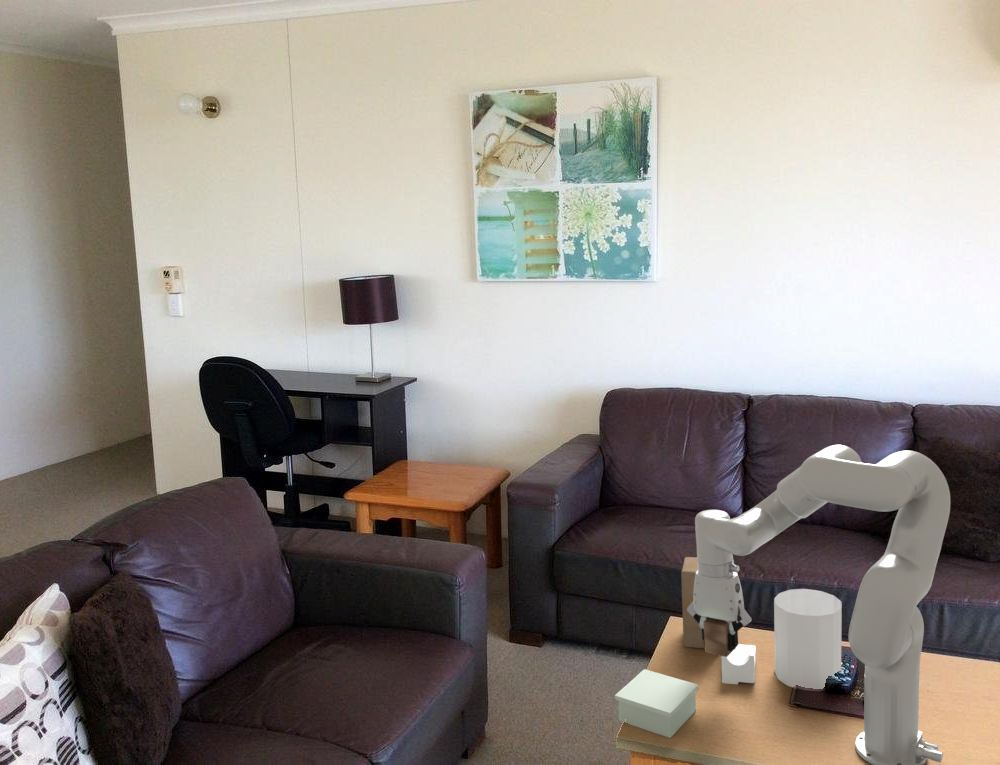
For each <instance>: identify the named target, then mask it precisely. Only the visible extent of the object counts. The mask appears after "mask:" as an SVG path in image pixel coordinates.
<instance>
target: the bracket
mask: <svg viewBox="0 0 1000 765" xmlns="http://www.w3.org/2000/svg"><path fill="white" fill-rule="evenodd" d="M756 648H757V646H756V645H752V644H743V643H742V644H741V643H740V644H739V643H738V646H737V647H736V648H735V649H734V650H733V651H732V652H731V653H730V654H729V655H728V656H727V657H725V656H720V658H721V683H722V684H729V685H739V683H747V684H755V680H756V679H755V675H756V674H755V673H756V659H757V658H756V656H757V649H756Z"/></svg>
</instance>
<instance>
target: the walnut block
mask: <svg viewBox="0 0 1000 765" xmlns="http://www.w3.org/2000/svg"><path fill="white" fill-rule="evenodd" d="M703 624H704V640H705V648H704V651H705V653H706V654H711V655H712V654H713V655H717V656H719V657H721V656H725V657H727V656H728V655H729V654H730V653H731V651H729V650H728V634H729V629H728V626H727V623H726V621H724V620H719V619H714V618H709V617H708V618H707V619H706V620H705V621H704V622H703Z"/></svg>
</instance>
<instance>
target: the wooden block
mask: <svg viewBox="0 0 1000 765" xmlns="http://www.w3.org/2000/svg"><path fill="white" fill-rule="evenodd" d="M697 570H698V561H697V556H696V557H695V556H694V557H693V556H686V557H684V560H683V565H682V568H681V572H680V573H681V600H682V601H681V603H682V604H681V605H682V606H681V607H682V638H683V639H682V640H683V646H684V647H685V648H695V649H696V648H697V649H705V646H704V640H703V639H702V628H700V627H699V623H698V622H697V621H696V620H695V619H694V617H693V616H692V615H691V614H690V613H689V612H688V611H687V608H688V606H689V605H690V604H691V603H692V602H693V600H694V598H693V597H694V581H695V574H696V571H697Z"/></svg>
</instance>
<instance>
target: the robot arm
mask: <svg viewBox="0 0 1000 765" xmlns="http://www.w3.org/2000/svg"><path fill="white" fill-rule="evenodd" d="M827 503H831V504H833V505H834V504H835V505H840V506H845V507H852V508H857V509H862V510H863V509H864V510H868V511H869V510H870V511H873V512H874V511H875V512H881V513H882V512H893V511H897V510H898V511H897V513H896V516H895V519H894V521H893V524H892V526H891V527H892V528H891V532H890V537H889V540H888V543H887V546H886V549H885V552H884V554H883V555H882V556H881V557H880V558H879V560H877V561H876V562H875V563H874V564H873V565H872V566H871V567H870V568H869V569H868V570H867V572H865V574H864V575H863V578H862V581H861V582H860V584H859V585H860V586H859V588H858V593H857V597H856V600H855V605H854V608H853V611H852V615H851V620H850V623H849V627H848V634H847V635H848V636H847V637H848V643H849V648H850V649H851V651H852V653H853V655H854V656H855V658H857V660H858V661H860V662H861V663H862V664H864V688H863V689H864V693H863V694H864V696H863V697H864V700H863V702H864V705H863V706H864V707H863V708H864V709H863V710H864V712H863V717H864V718H863V731H862V732H861V733H859V735H858V736H857V737H856V738H855V750H856V752H857V754H858V755H859V756H860V758H862V759H863V760H864V761H866V762H867V763H869V764H871V765H925V764H926V762H927V760H930V761H934V762H936V763H939V764H940V763H941V764H942V762H943V755H944V754H943V752H942V751H940V750H939V745H938V744H935V743H931V742H927V741H926V740H925V739H923V732H922V731H920V730H919V709H920V708H919V707H920V705H919V704H920V702H919V701H920V700H919V699H920V697H919V696H920V675H921V674H920V673H921V672H920V671H921V658H922V657H921V656H922V648H923V641H924V633H925V626H924V618H923V616H922V613H921V611H920V609H919V608H918V606H917V605H918V604H919V603H920V602H921V601H922V600H923V599H924V598H925V597H926V595H927V594H928V592H929V591H930V589H931V587H932V585H933V581H934V577H935V572H936V568H937V564H938V561H939V560H938V559H939V557H940V553H941V550H942V546H943V541H944V537H945V533H946V529H947V527H948V526H947V525H948V521H949V518H950V513H951V492H950V487H949V484H948V481H947V478H946V476H945V475H944V473H943V472H942V470H941V469H940V467H939V466H938V465H937V464H936V463H935V462H934V461H933V460H932V459H931V458H929V457H928V456H926V455H924V454H922V452H921V453H920V452H918V451H914V450H909V449H908V450H901V451H897V452H893V453H891V454H889V455H887V456H885V457H884V458H883V459H881V460H880V461H878V462H877V463H875V464H873V463H864V462H862V459H861V457H860V455H859V453H857V452H856V451H855V450H854V449H853V448H851V447H849V446H847V445H842V444H833V445H829V446H826V447H824V448H822V449H821V450H819V451H818V452H817V451H816V453H814V454H812V455H811V456H810V455H809V457H808V458H806V459H805V460H804V461H803V463H801V465H800V466H799V467H798V468H797V469H795V470H793V471H792V472H790V474H788V475H786V477H784V478H782V479H781V480H780V481H779V482H778V483H777V485H776V490H775V491H774V492H772V493H770V495H768V496H767V497H766V498H764V499H763V500H762V501H760V502H759V503H758V504H756V505H754V507H752V508H750V509H749V510H747V511H744V512H743V513H742V514H740V515H738V516H737V517H733V518H731V517H730V515H729V513H728V512H726V511H724V510H720V509H706V510H702V511H700V512H698V513H697V514H696V515H695V518H694V526H695V541H696V542H695V544H696V557H697V561H698V570H697V571H696V574H695V581H694V597H693V598H694V600H693V602H692V603H691V604H690V605H689V606H688V608H687V611H688V612H689V613H690V614H691V615H692V616H693V617H694V619H695V620H696V621H697V622H698V623H699V627H700V628H702V639H703V640H704V624H703V622H704V621H705V620H706V619H707V618H708V617H709V618H714V619H719V620H724V621H726V623H727V626H728V629H729V634H728V650H729V651H731V652H732V651H733V650H734V649H735V648H736V647H737V646H738V644H739V633H738V631H740V630H741V629H742V628H743V627H746V626H747V625H748V624H750V623H751V622H752V620H753V619H752V617H751V616H750V614H748V612H747V610H746V609H745V603H744V596H743V590H742V585H741V581H740V578H739V575H738V573H739V571H740V566H739V565H736V564H735V560H734V555H735V556H740V557H741V556H747V555H750V554H752V553H753V552H755V551H756V550H757V549H759V548H760V547H761V546H763V545H764V544H766V543H768V542H769V541H770V540H773V538H775V537H776V536H778V535H780V534H781V532H782V533H783V532H784V531H785V530H786V529H788V528H790V526H792V525H793V524H795V523H796V522H798V521H799V520H801V519H806V518H807V517H809V516H810V515H812V514H813V513H815V512H816V511H817V510H819V509H820V508H822V507H823V506H824V505H826V504H827ZM738 616H739V617H740V618H741V620H739V621H738ZM704 646H705V640H704Z"/></svg>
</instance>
